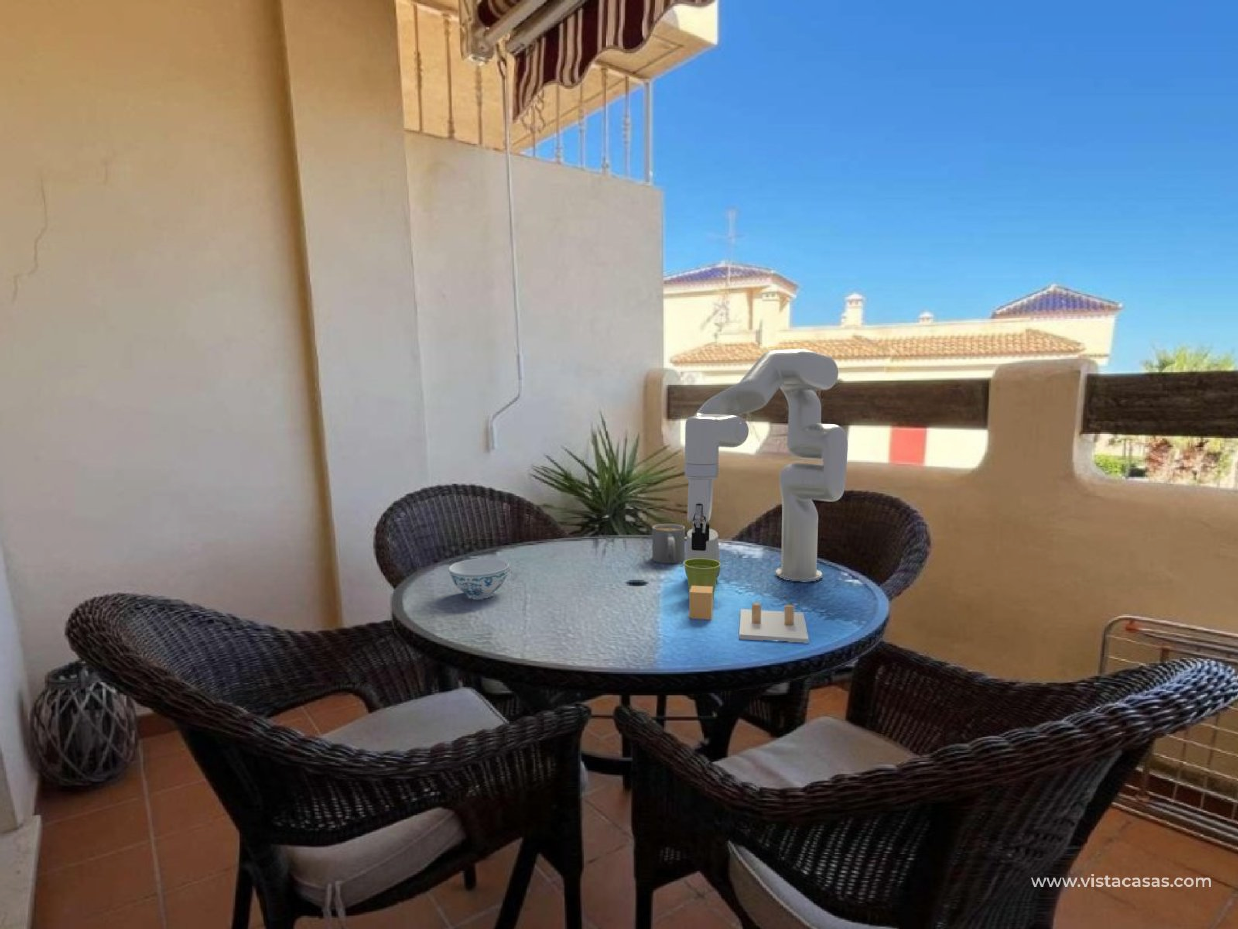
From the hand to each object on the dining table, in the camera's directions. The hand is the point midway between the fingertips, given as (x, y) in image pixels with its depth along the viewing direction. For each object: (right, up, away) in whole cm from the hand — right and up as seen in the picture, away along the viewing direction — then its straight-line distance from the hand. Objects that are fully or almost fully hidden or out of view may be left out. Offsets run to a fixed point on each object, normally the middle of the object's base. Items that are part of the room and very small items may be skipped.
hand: (700, 545), depth 150 cm
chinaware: (-54, -15, +19) cm, 60 cm away
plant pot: (+2, -15, +16) cm, 22 cm away
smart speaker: (+4, -13, +30) cm, 33 cm away
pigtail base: (+15, -17, -6) cm, 24 cm away
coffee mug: (-4, -11, +51) cm, 52 cm away
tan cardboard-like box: (0, -17, +2) cm, 17 cm away
